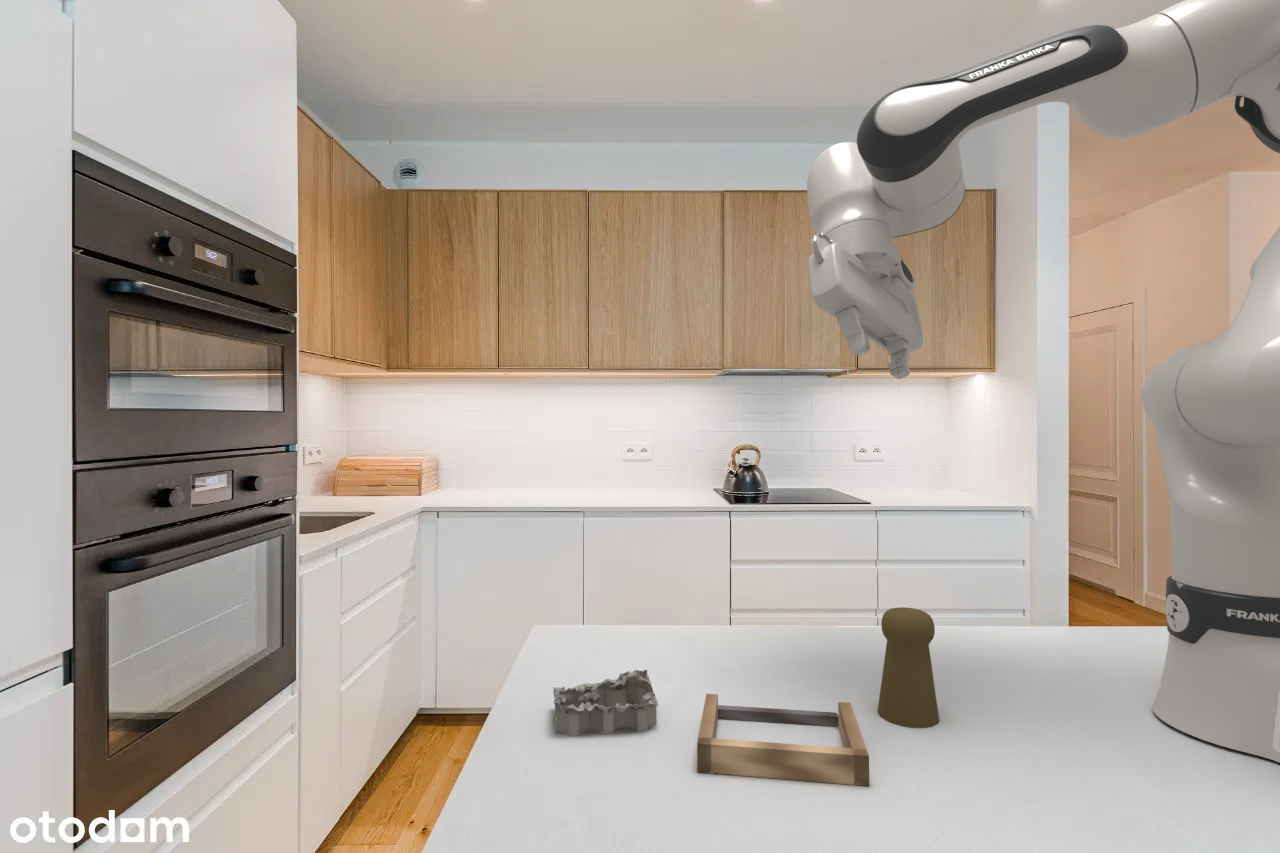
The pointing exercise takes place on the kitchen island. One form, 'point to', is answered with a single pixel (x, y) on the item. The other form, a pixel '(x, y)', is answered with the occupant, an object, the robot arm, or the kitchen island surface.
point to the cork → (908, 669)
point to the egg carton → (588, 701)
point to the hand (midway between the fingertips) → (881, 364)
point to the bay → (783, 746)
